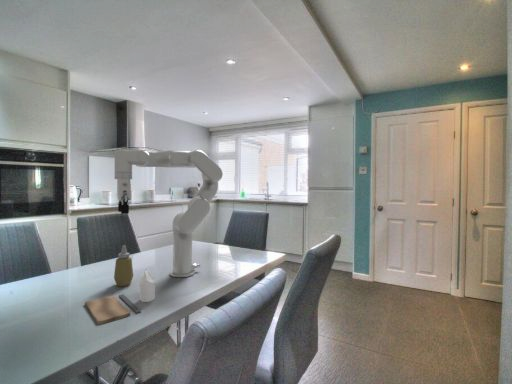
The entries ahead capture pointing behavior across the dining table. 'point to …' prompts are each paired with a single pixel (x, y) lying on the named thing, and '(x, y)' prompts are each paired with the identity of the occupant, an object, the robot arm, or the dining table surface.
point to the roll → (147, 287)
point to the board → (106, 309)
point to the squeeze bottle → (123, 268)
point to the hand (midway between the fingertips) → (123, 212)
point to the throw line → (130, 303)
